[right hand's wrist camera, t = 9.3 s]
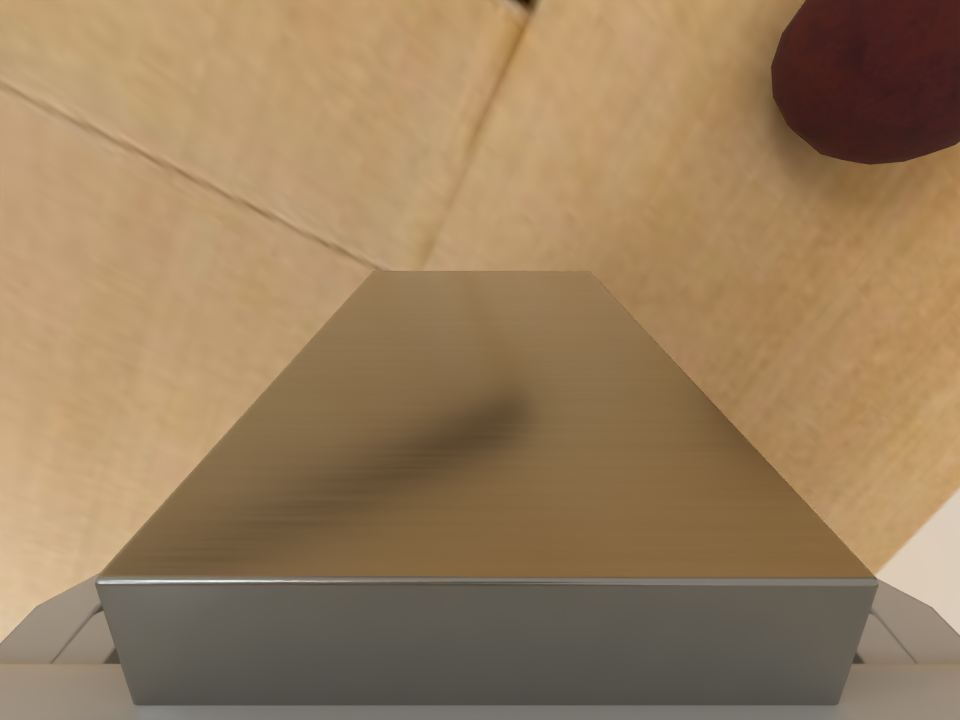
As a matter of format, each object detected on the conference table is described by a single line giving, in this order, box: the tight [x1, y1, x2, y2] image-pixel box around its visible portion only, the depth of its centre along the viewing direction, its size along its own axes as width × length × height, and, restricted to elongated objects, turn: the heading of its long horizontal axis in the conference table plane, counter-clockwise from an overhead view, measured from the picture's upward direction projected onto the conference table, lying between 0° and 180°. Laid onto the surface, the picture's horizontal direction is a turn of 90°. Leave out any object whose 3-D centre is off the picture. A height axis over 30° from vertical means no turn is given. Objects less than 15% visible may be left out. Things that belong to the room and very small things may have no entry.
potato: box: [771, 0, 960, 164], centre depth 20 cm, size 7×8×7 cm
